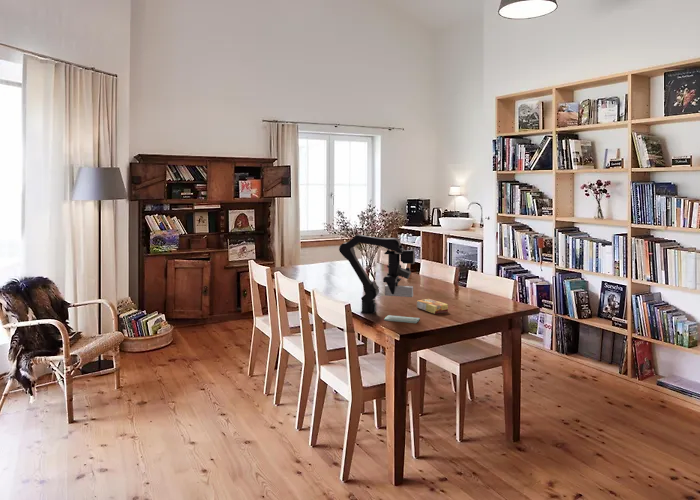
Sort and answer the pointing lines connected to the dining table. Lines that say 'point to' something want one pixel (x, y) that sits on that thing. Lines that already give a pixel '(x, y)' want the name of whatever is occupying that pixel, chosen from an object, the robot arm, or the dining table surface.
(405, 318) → the pad
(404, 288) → the bar
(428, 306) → the candy box
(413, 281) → the dining table surface
